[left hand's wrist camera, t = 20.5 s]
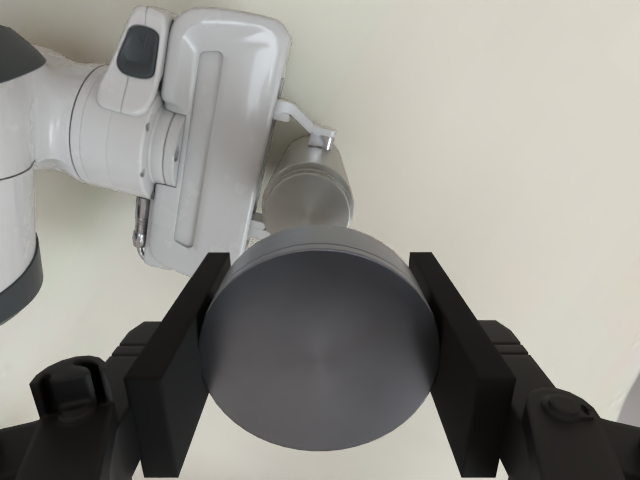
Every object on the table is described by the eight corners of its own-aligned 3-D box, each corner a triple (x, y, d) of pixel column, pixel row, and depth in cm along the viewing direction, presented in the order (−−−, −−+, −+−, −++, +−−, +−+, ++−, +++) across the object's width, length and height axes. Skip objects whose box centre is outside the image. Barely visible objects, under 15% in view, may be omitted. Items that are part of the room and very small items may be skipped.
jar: (333, 127, 36) (342, 154, 22) (348, 186, 38) (366, 247, 24) (274, 144, 37) (244, 182, 22) (292, 201, 39) (275, 270, 24)
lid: (345, 433, 14) (348, 482, 12) (178, 347, 13) (156, 388, 11) (468, 297, 12) (492, 332, 10) (286, 180, 11) (279, 197, 9)
